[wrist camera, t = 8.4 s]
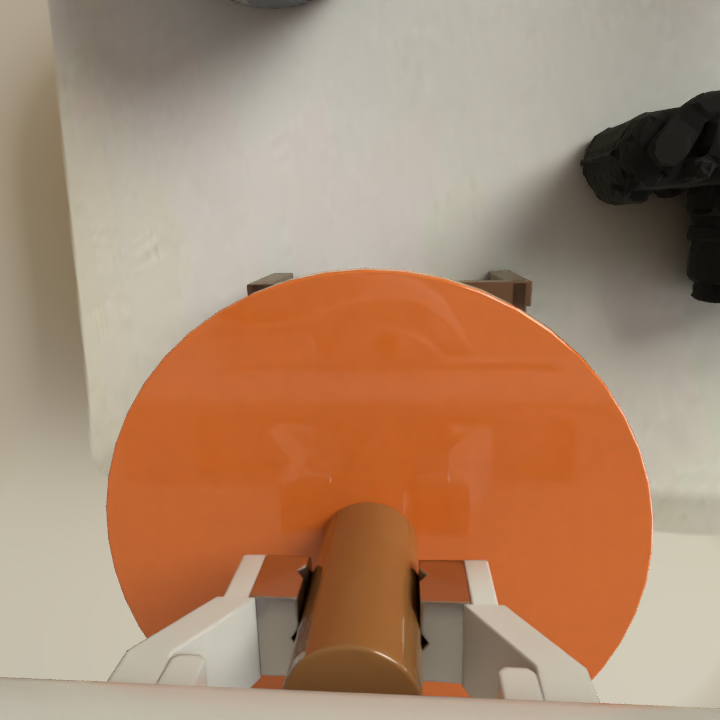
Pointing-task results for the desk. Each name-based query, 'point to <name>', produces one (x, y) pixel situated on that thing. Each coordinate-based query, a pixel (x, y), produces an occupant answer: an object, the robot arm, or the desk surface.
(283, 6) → the pot
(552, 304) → the desk surface
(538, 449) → the lid
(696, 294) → the film camera
